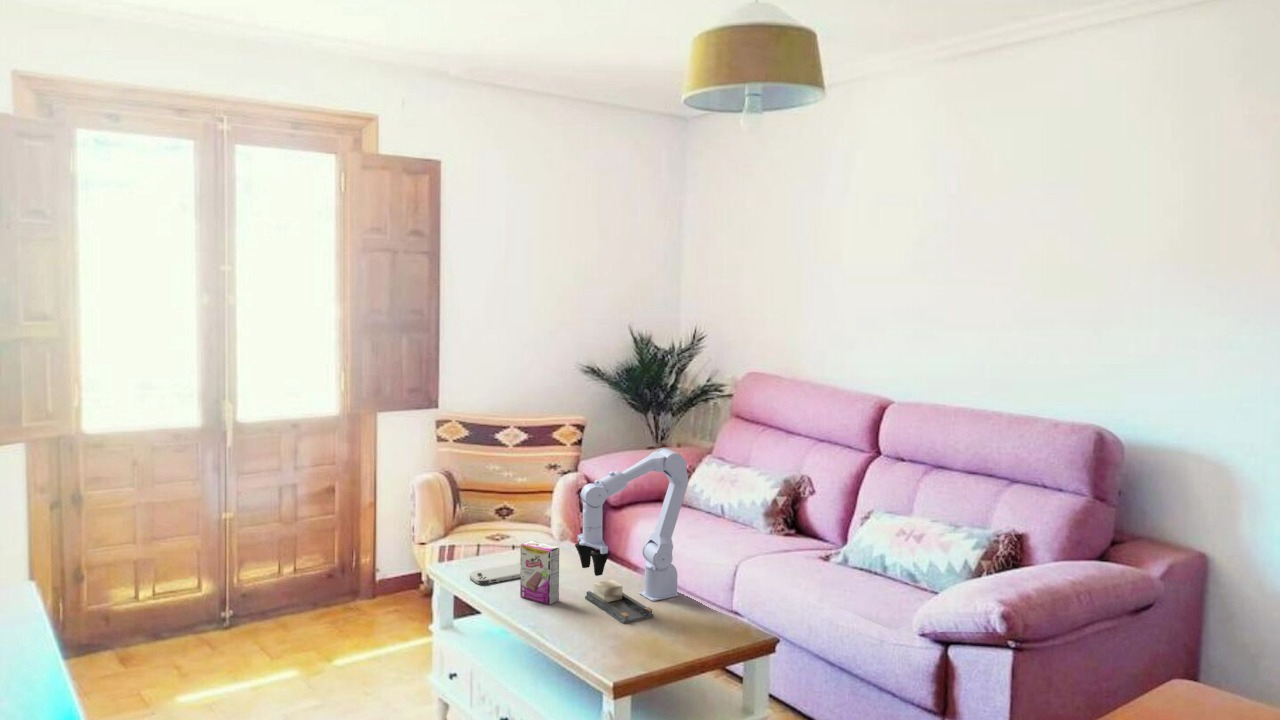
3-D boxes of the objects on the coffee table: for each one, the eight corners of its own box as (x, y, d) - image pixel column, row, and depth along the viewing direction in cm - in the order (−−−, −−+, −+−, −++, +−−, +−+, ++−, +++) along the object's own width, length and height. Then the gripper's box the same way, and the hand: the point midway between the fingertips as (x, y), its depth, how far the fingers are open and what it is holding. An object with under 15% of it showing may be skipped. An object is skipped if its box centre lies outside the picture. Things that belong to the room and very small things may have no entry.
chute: (614, 592, 272) (614, 585, 271) (653, 617, 253) (653, 609, 253) (585, 598, 266) (585, 591, 266) (623, 623, 248) (623, 615, 247)
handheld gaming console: (532, 558, 295) (546, 567, 287) (532, 566, 296) (546, 575, 287) (466, 569, 283) (478, 579, 275) (466, 578, 283) (478, 588, 275)
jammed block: (611, 592, 269) (612, 579, 268) (622, 599, 264) (622, 585, 263) (594, 596, 266) (594, 583, 265) (604, 602, 260) (604, 589, 260)
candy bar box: (519, 598, 266) (519, 543, 264) (530, 593, 270) (530, 539, 268) (549, 606, 260) (549, 550, 258) (559, 600, 264) (560, 546, 263)
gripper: (568, 521, 264) (568, 566, 266) (592, 534, 252) (592, 581, 254) (589, 518, 268) (589, 562, 270) (614, 530, 256) (613, 576, 257)
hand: (592, 571), depth 262 cm, fingers open, 7 cm apart
